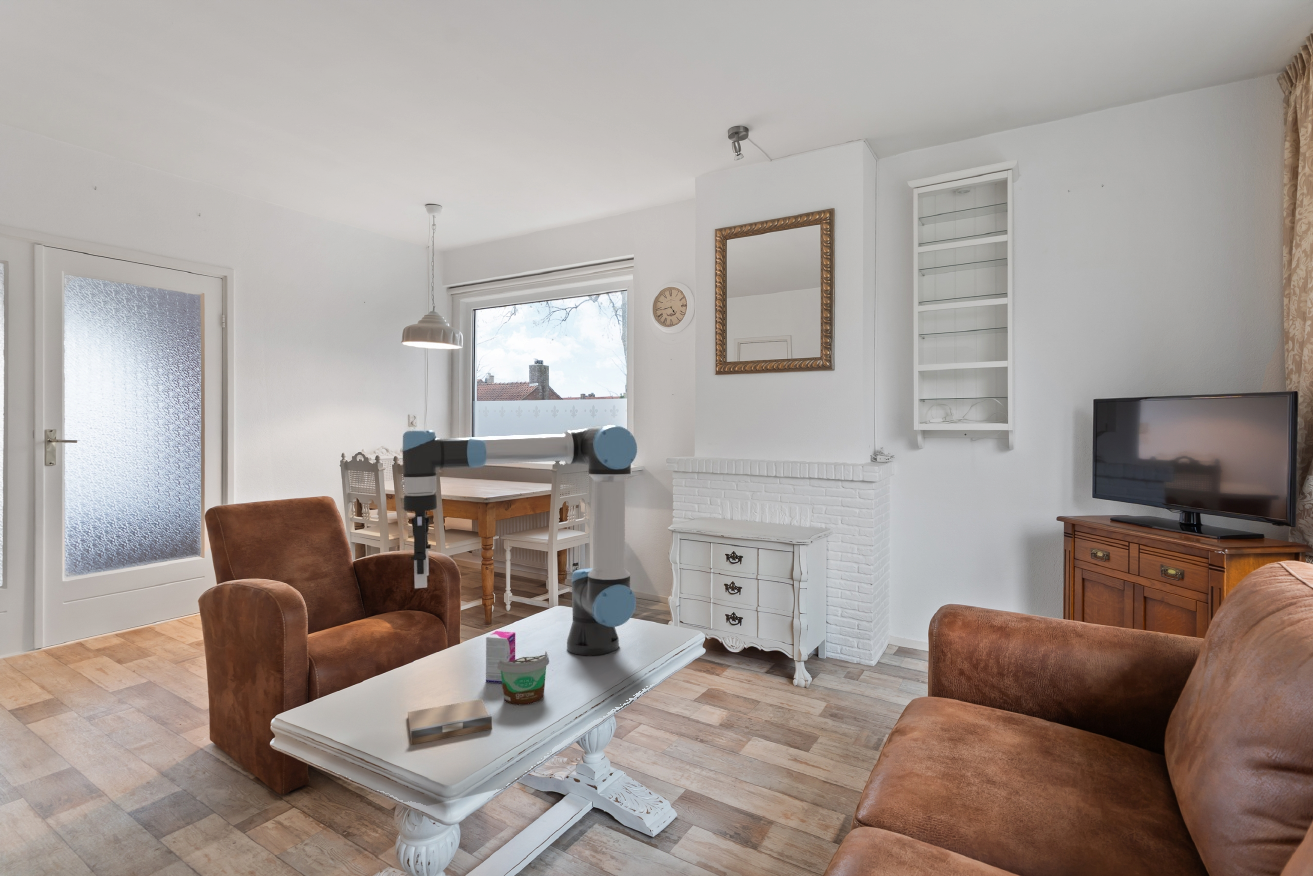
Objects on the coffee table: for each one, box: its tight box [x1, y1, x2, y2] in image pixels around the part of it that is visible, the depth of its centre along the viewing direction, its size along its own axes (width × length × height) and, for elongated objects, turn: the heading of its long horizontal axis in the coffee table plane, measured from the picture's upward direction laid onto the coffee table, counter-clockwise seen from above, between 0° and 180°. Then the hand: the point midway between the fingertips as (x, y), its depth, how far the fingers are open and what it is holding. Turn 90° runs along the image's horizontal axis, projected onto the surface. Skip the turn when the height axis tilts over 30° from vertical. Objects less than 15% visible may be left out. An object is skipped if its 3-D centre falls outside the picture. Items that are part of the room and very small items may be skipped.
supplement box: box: [485, 630, 516, 684], centre depth 165 cm, size 6×6×12 cm
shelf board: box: [407, 698, 493, 745], centre depth 140 cm, size 16×14×3 cm
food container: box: [497, 651, 550, 706], centre depth 151 cm, size 12×6×10 cm, turn 117°
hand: (422, 581), depth 157 cm, fingers open, 13 cm apart
